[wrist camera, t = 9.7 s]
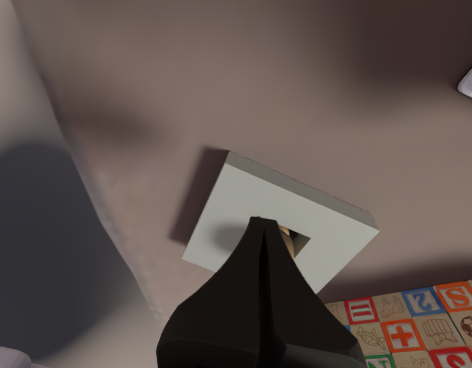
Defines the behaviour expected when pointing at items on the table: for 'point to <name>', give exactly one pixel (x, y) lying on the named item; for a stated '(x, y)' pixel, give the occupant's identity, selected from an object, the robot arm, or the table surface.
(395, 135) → the table surface
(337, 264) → the board
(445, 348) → the stack of blocks
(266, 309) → the robot arm
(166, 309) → the table surface
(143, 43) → the table surface
